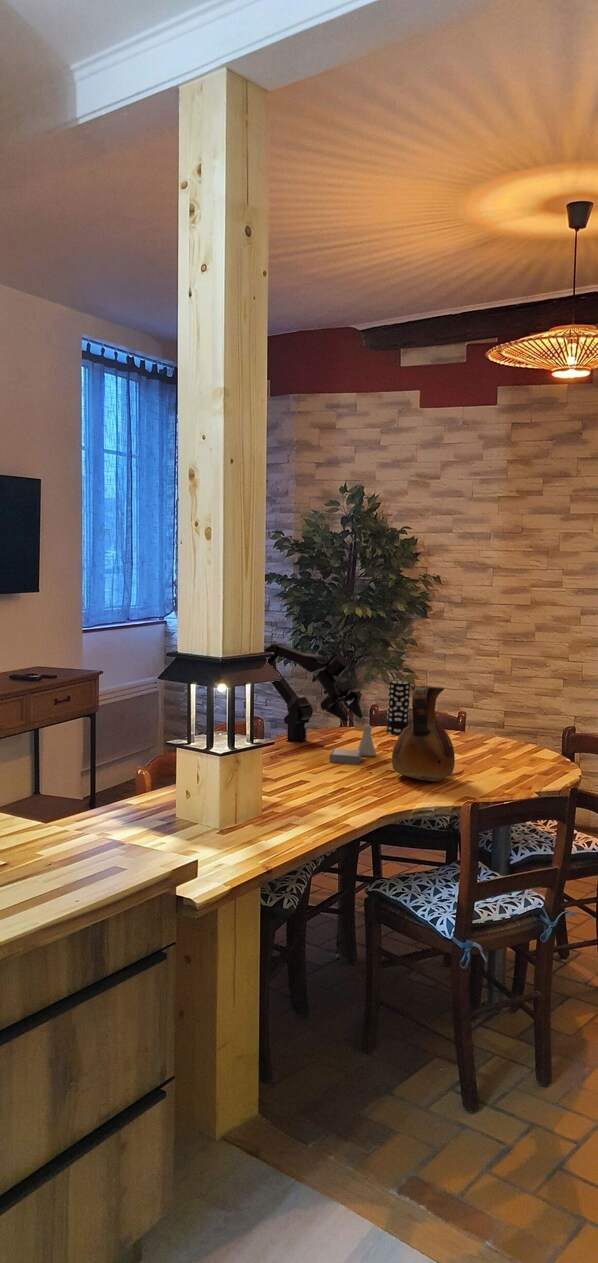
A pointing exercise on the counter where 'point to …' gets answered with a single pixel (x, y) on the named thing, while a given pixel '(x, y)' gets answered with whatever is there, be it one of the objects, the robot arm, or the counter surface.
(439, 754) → the ceramic pitcher
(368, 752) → the flask
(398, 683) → the white-spotted black cylinder
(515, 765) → the counter surface
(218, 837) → the counter surface
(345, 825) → the counter surface
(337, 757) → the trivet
